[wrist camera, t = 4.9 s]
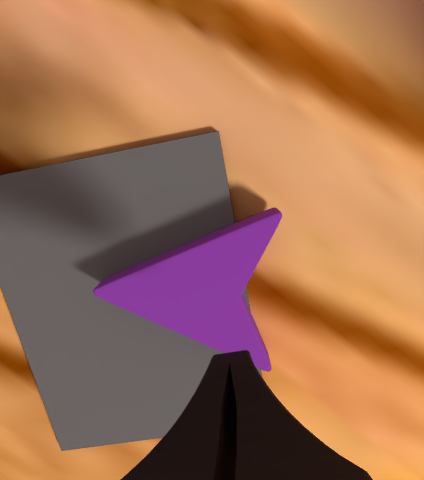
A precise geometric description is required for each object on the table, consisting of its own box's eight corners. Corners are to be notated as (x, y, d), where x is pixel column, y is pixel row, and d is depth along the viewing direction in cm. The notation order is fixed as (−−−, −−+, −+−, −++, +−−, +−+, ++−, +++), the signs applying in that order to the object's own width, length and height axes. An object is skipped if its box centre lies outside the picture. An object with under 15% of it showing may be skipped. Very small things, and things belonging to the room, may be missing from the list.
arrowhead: (350, 287, 19) (228, 155, 17) (362, 300, 17) (228, 156, 15) (221, 390, 21) (100, 281, 19) (221, 410, 19) (90, 292, 17)
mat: (218, 131, 17) (218, 130, 17) (269, 418, 21) (270, 423, 21) (-33, 182, 18) (-38, 183, 18) (64, 445, 22) (61, 450, 22)
